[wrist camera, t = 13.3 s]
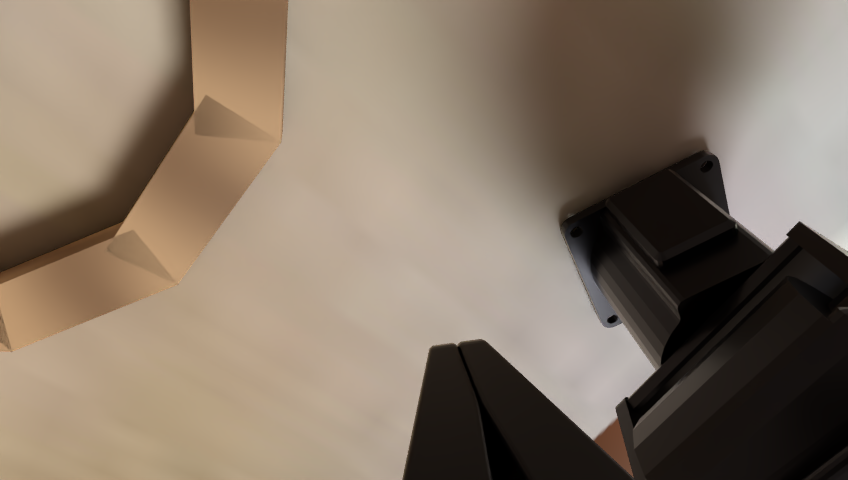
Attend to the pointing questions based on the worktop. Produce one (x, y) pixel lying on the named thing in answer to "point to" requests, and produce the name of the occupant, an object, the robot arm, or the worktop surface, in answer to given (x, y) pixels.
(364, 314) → the worktop surface
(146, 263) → the brown ring with post
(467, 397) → the robot arm
